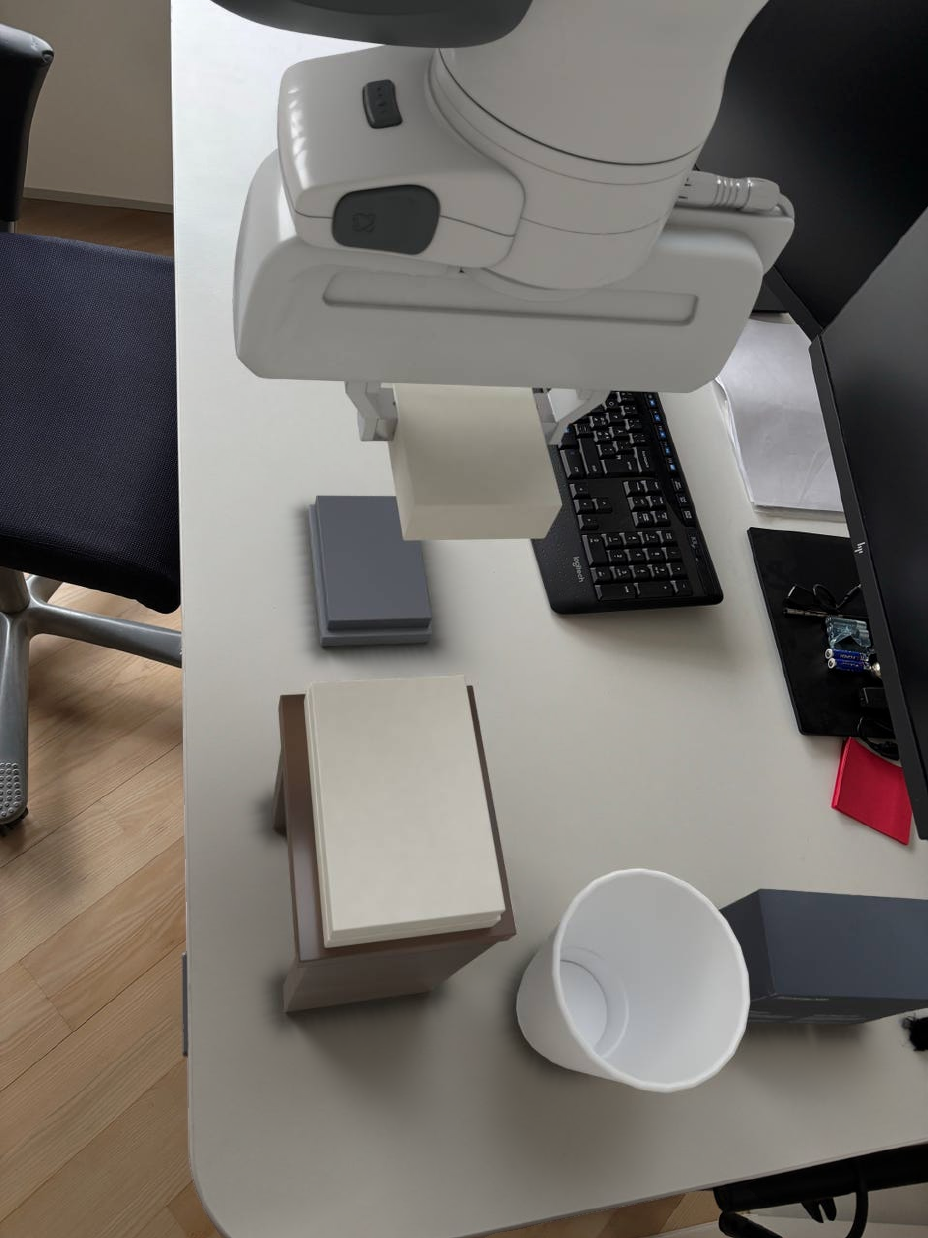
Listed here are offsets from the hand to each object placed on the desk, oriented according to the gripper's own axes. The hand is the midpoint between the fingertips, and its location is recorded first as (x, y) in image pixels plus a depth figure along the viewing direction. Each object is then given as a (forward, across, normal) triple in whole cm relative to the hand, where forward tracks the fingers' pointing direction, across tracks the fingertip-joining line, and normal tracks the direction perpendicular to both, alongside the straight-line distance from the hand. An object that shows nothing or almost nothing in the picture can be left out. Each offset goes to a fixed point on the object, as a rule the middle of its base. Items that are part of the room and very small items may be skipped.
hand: (457, 432), depth 42 cm
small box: (+35, -29, +22) cm, 51 cm away
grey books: (+35, -2, -14) cm, 38 cm away
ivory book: (+1, 0, 0) cm, 1 cm away
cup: (+35, -12, +22) cm, 44 cm away
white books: (+15, +2, +13) cm, 20 cm away
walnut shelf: (+35, +2, +13) cm, 37 cm away
